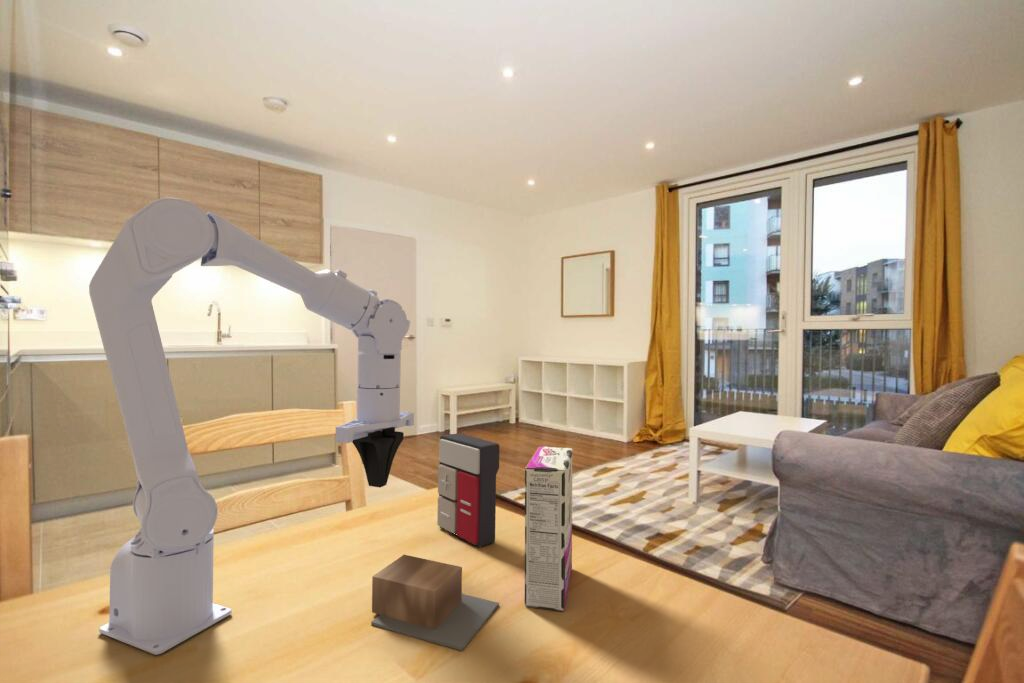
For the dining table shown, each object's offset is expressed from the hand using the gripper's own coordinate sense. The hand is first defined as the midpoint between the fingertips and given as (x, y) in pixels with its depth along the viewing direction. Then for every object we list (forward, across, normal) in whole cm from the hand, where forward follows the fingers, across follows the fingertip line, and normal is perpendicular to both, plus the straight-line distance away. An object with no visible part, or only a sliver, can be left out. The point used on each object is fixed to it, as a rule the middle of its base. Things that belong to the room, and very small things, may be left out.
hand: (377, 485), depth 67 cm
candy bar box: (+11, +3, -24) cm, 26 cm away
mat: (+10, -8, -14) cm, 20 cm away
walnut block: (+8, -8, -8) cm, 14 cm away
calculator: (+11, +13, -7) cm, 18 cm away
